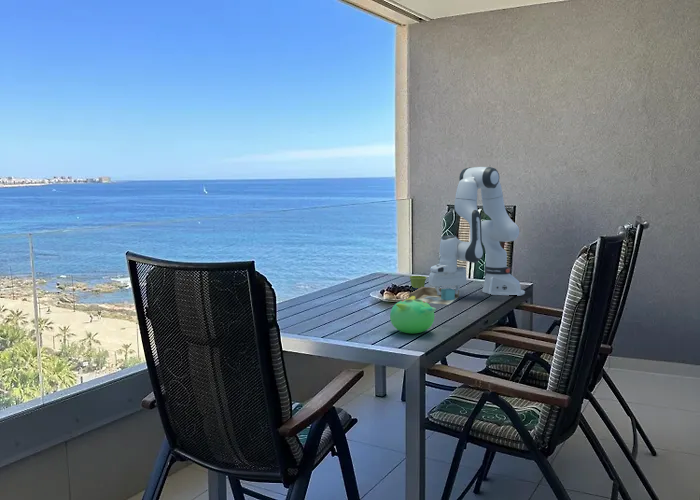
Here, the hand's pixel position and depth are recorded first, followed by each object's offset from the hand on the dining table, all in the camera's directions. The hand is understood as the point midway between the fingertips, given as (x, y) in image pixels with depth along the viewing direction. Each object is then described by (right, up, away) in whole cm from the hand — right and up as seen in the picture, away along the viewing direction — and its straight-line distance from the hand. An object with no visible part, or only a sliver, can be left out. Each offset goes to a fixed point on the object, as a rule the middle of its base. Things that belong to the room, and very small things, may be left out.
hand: (447, 294), depth 323 cm
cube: (0, -2, 0) cm, 2 cm away
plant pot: (-12, -1, +23) cm, 26 cm away
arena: (-6, -3, 0) cm, 7 cm away
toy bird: (-24, -11, -64) cm, 69 cm away
